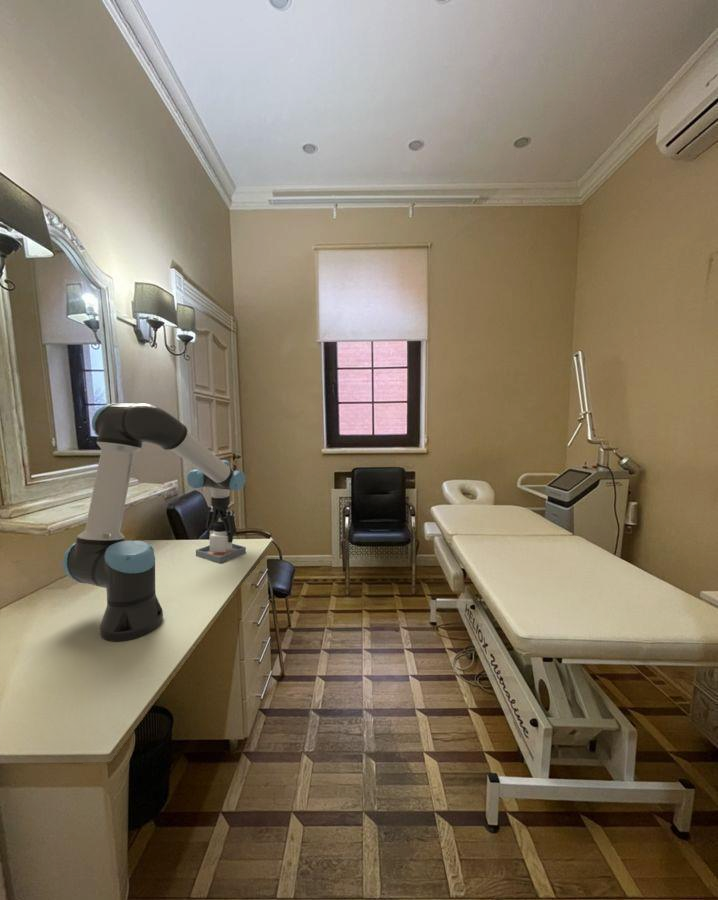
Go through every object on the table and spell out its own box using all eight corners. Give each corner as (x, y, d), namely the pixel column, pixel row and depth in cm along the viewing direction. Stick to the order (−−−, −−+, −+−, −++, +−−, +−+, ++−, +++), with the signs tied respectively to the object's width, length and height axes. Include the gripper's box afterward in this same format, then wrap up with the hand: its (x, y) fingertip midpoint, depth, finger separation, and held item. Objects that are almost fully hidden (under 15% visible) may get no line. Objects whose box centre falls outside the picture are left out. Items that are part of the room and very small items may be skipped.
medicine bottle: (226, 552, 153) (225, 525, 152) (209, 552, 153) (209, 524, 152) (232, 546, 160) (232, 520, 159) (216, 546, 160) (216, 519, 159)
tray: (219, 563, 147) (219, 557, 146) (195, 555, 154) (195, 550, 154) (245, 552, 159) (245, 547, 159) (222, 545, 166) (222, 540, 166)
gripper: (245, 498, 152) (245, 549, 154) (211, 491, 163) (211, 539, 165) (231, 501, 145) (231, 554, 147) (196, 494, 156) (197, 544, 158)
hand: (221, 546), depth 156 cm, fingers closed on medicine bottle, 9 cm apart
